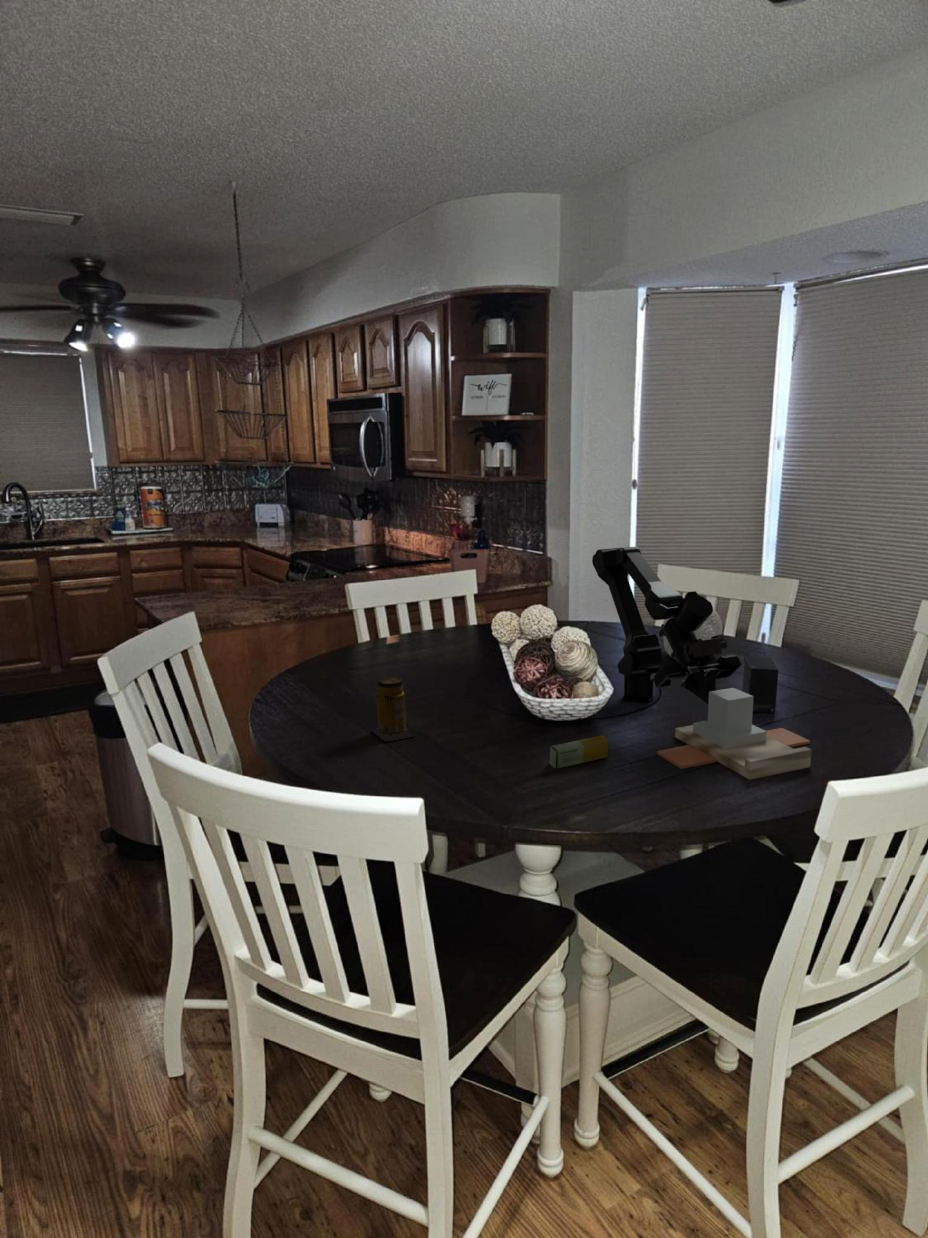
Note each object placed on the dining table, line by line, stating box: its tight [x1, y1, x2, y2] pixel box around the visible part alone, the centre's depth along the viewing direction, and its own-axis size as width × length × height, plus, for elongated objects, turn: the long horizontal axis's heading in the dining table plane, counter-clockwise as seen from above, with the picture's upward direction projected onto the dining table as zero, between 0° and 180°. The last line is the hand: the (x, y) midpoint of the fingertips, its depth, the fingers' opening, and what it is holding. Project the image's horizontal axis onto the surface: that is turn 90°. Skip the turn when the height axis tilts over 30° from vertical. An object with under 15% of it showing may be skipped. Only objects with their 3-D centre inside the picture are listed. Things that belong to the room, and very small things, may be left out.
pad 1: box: [656, 744, 717, 770], centre depth 155 cm, size 8×8×1 cm
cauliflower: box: [662, 608, 724, 660], centre depth 222 cm, size 20×18×16 cm
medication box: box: [548, 734, 609, 769], centre depth 154 cm, size 12×3×4 cm, turn 113°
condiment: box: [376, 677, 407, 735], centre depth 170 cm, size 7×8×12 cm
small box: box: [741, 655, 779, 714], centre depth 182 cm, size 11×6×10 cm, turn 168°
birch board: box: [674, 724, 812, 781], centre depth 157 cm, size 23×14×4 cm, turn 20°
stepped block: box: [692, 687, 767, 749], centre depth 159 cm, size 10×10×9 cm
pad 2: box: [766, 727, 811, 748], centre depth 162 cm, size 8×8×1 cm
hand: (714, 706), depth 163 cm, fingers closed
